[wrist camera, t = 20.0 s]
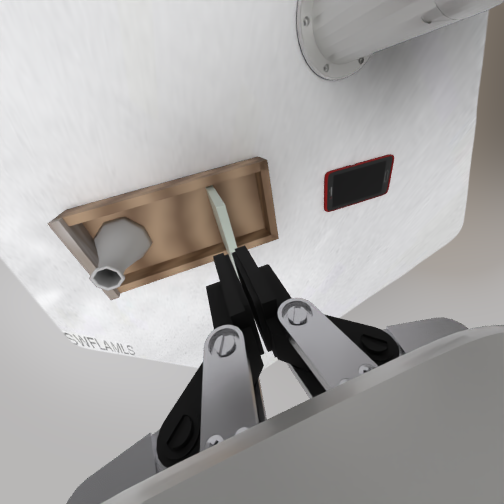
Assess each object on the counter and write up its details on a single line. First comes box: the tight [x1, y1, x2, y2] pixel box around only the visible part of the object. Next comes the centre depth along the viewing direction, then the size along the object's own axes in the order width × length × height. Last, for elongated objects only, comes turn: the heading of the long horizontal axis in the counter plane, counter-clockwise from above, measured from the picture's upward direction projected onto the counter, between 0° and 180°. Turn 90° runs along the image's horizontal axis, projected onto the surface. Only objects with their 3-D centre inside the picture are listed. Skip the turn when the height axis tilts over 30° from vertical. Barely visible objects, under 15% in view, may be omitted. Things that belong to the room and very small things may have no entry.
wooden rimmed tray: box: [48, 157, 279, 300], centre depth 32 cm, size 28×13×5 cm, turn 102°
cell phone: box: [324, 155, 394, 212], centre depth 41 cm, size 8×15×1 cm, turn 100°
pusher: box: [205, 185, 239, 278], centre depth 29 cm, size 1×10×11 cm, turn 12°
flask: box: [89, 217, 152, 291], centre depth 28 cm, size 7×7×10 cm
